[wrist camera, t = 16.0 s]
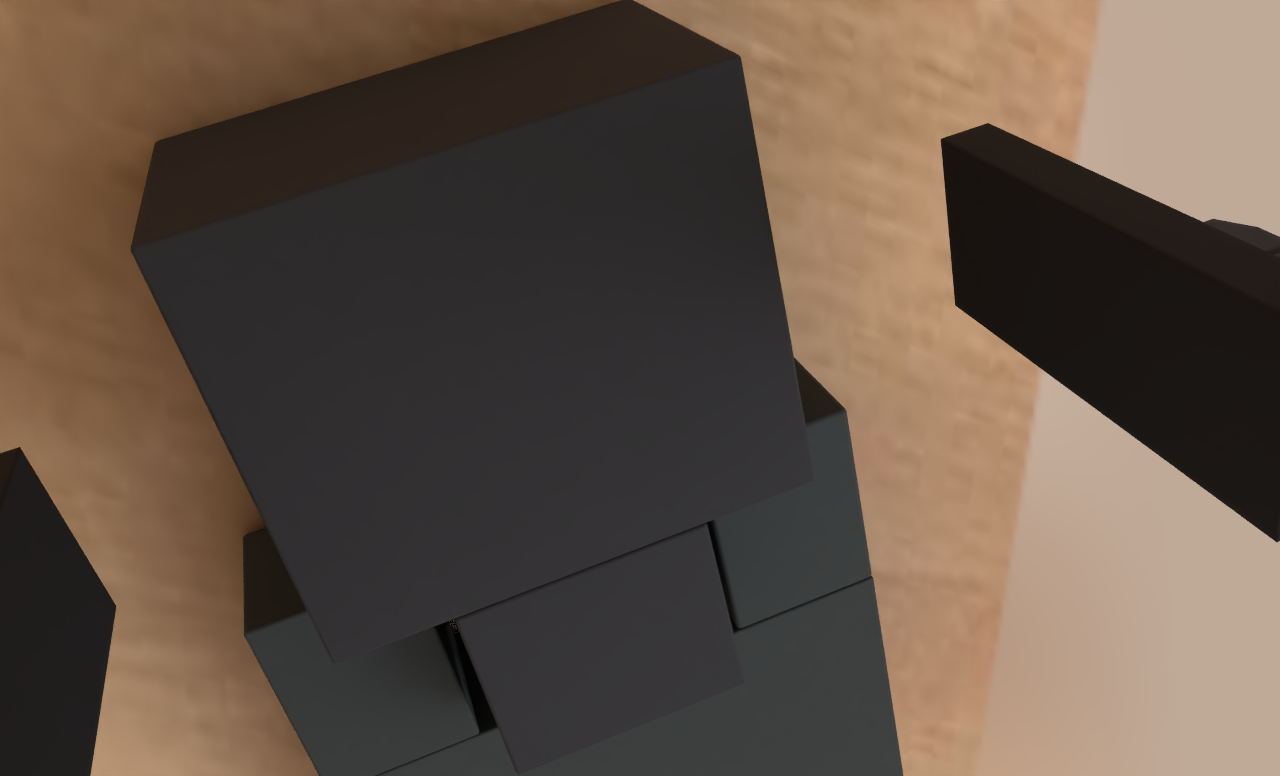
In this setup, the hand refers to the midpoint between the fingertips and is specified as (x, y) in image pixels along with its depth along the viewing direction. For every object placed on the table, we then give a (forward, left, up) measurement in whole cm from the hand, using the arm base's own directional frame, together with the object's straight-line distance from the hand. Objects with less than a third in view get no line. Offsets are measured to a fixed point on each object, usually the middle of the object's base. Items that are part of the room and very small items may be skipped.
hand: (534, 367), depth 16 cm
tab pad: (0, +2, -5) cm, 5 cm away
